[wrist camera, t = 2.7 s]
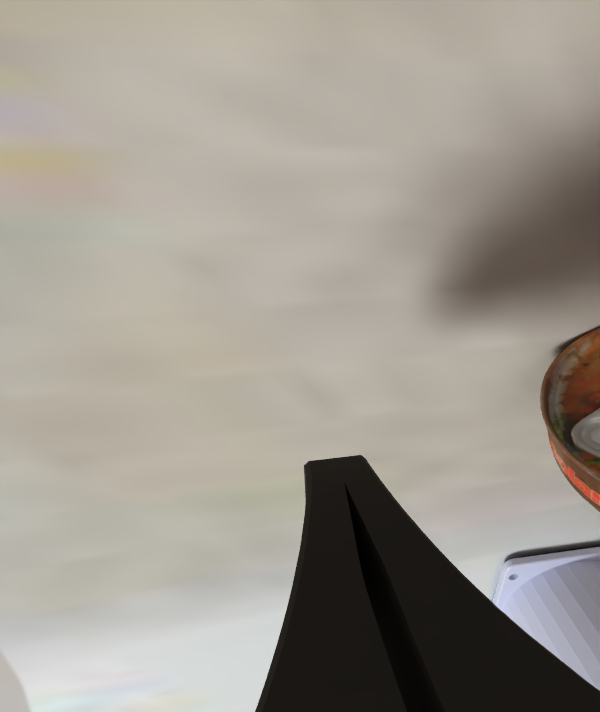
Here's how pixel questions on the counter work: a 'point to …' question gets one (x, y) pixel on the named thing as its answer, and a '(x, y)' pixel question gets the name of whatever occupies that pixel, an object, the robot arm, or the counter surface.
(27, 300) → the counter surface
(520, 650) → the robot arm
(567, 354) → the tin
